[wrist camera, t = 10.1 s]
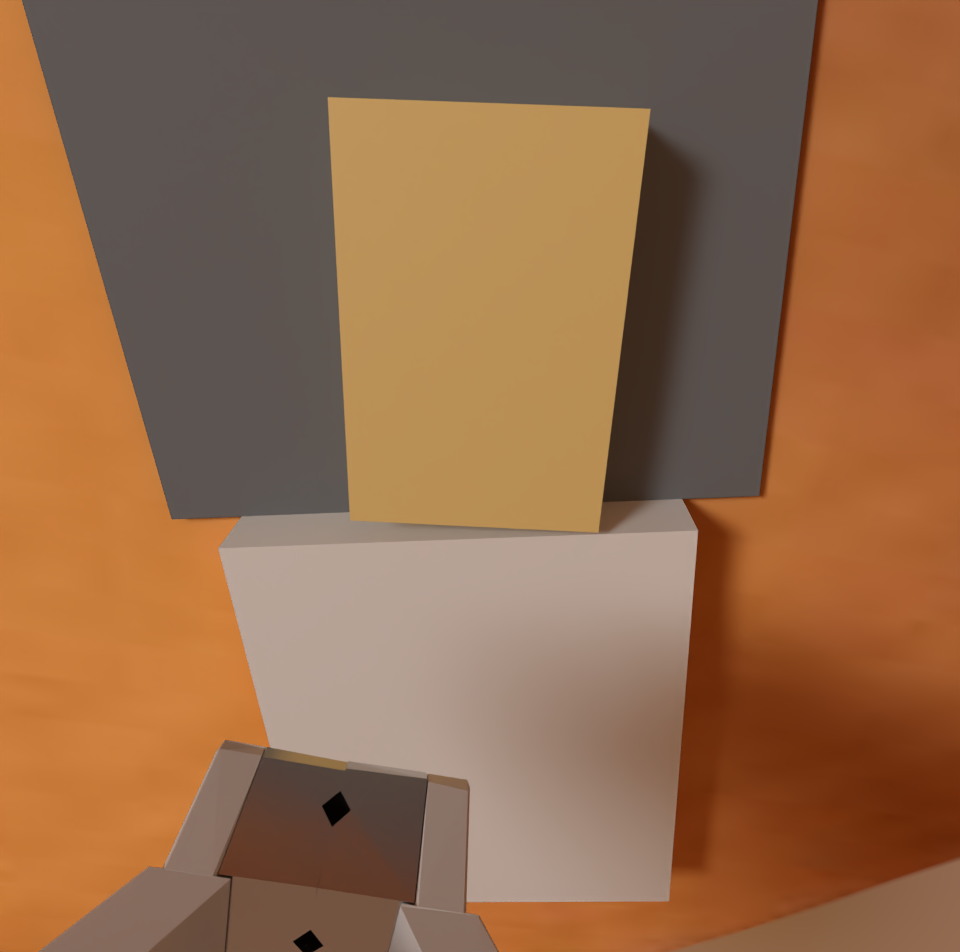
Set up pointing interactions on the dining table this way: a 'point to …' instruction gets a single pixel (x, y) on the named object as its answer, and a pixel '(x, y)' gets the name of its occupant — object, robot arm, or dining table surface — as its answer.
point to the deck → (489, 677)
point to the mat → (310, 214)
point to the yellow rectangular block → (482, 305)
